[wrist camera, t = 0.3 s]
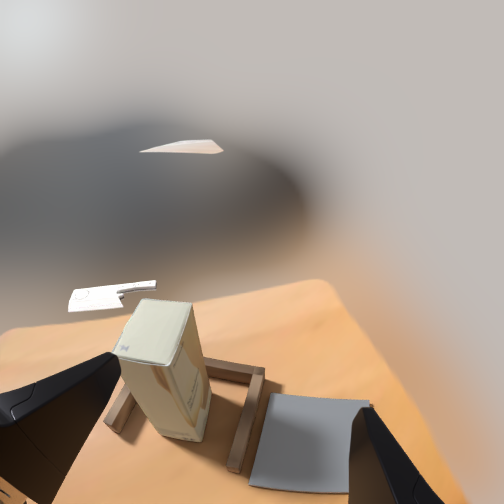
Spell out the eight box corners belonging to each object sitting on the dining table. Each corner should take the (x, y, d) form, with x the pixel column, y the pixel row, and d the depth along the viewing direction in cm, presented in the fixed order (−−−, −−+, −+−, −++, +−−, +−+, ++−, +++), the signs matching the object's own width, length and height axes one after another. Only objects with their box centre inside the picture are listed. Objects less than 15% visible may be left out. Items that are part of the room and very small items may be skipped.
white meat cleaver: (154, 304, 38) (153, 298, 37) (68, 312, 35) (65, 307, 35) (157, 283, 42) (155, 278, 41) (76, 293, 39) (74, 287, 39)
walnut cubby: (239, 473, 17) (238, 468, 16) (111, 430, 20) (103, 421, 19) (264, 378, 27) (264, 367, 26) (154, 354, 29) (149, 343, 28)
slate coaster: (365, 492, 14) (367, 491, 14) (248, 485, 16) (248, 484, 16) (367, 402, 23) (369, 400, 23) (270, 395, 25) (270, 392, 25)
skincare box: (203, 443, 20) (169, 371, 14) (158, 435, 20) (105, 359, 14) (213, 389, 26) (194, 299, 19) (173, 384, 26) (140, 295, 20)
